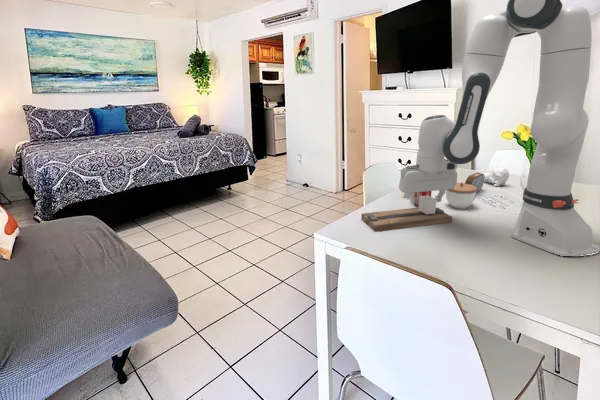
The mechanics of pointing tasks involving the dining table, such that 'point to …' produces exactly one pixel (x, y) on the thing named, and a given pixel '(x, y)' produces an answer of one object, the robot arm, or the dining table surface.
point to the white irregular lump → (497, 176)
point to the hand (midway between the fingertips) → (425, 202)
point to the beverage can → (417, 194)
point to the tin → (476, 180)
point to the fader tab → (427, 204)
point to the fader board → (404, 218)
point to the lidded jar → (461, 195)
